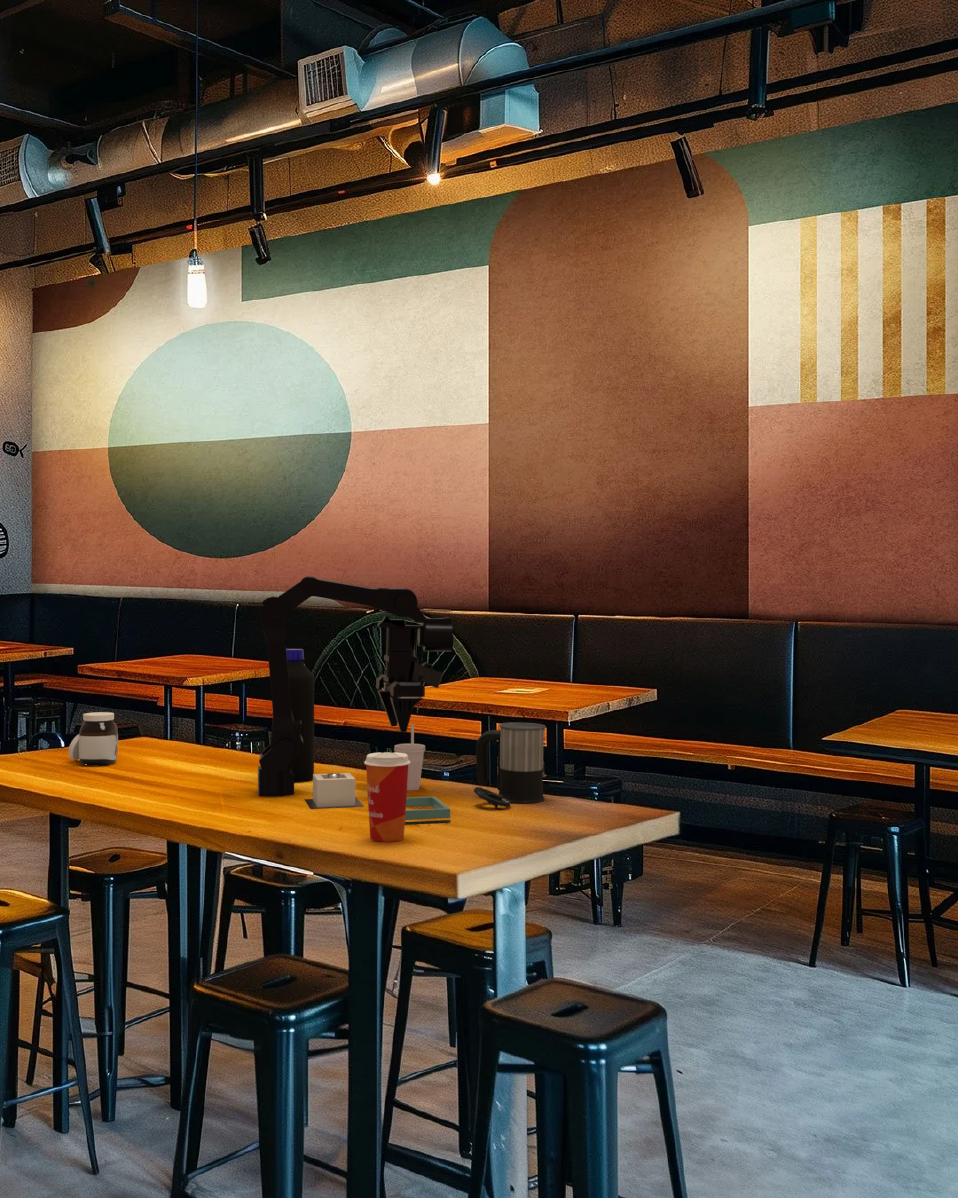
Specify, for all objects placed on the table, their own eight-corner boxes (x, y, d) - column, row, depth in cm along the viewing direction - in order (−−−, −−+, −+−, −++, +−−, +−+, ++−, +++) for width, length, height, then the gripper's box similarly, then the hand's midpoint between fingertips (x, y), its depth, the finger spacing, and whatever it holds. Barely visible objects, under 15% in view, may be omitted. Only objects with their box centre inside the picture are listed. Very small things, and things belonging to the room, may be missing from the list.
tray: (381, 826, 209) (381, 812, 209) (369, 812, 221) (369, 799, 221) (450, 823, 212) (450, 809, 212) (434, 809, 224) (434, 796, 224)
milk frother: (543, 795, 240) (543, 721, 240) (549, 811, 224) (550, 732, 224) (472, 795, 240) (473, 721, 240) (473, 810, 224) (474, 731, 224)
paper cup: (364, 833, 203) (364, 751, 203) (409, 833, 204) (409, 751, 204) (363, 844, 195) (364, 758, 195) (410, 843, 196) (411, 758, 196)
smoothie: (420, 797, 238) (421, 726, 237) (389, 795, 239) (390, 725, 239) (428, 791, 244) (429, 722, 244) (398, 790, 245) (398, 721, 245)
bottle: (264, 781, 255) (265, 650, 254) (286, 775, 263) (286, 647, 262) (300, 784, 251) (301, 651, 251) (321, 777, 260) (321, 648, 259)
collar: (317, 807, 221) (317, 780, 221) (313, 800, 228) (313, 774, 228) (355, 805, 223) (355, 778, 223) (349, 798, 230) (349, 772, 229)
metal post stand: (310, 814, 219) (310, 779, 219) (304, 804, 229) (304, 770, 229) (364, 812, 222) (364, 777, 222) (355, 802, 231) (356, 768, 231)
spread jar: (108, 767, 272) (108, 716, 272) (58, 767, 272) (58, 716, 272) (124, 759, 284) (124, 710, 284) (77, 759, 284) (77, 710, 284)
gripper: (451, 654, 231) (449, 734, 231) (429, 648, 249) (427, 723, 249) (395, 653, 228) (392, 735, 228) (376, 647, 246) (374, 723, 246)
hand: (398, 729), depth 238 cm, fingers open, 9 cm apart
